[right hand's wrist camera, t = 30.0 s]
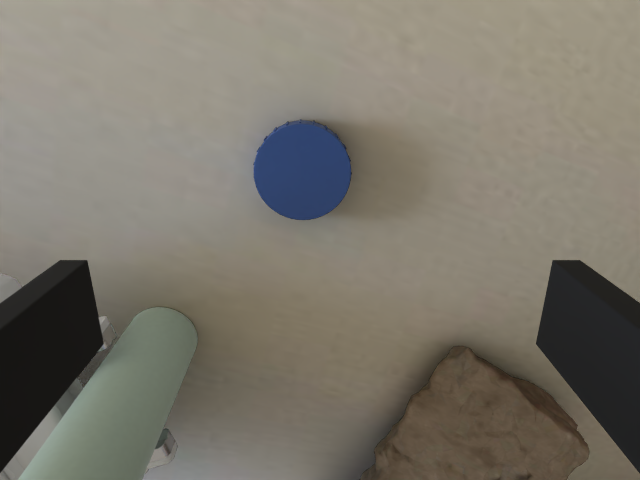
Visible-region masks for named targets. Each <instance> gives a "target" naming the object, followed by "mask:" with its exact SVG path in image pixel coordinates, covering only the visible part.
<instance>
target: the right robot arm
mask: <svg viewBox="0 0 640 480" xmlns="http://www.w3.org/2000/svg"><path fill="white" fill-rule="evenodd" d="M103 344H104V341H103V336H102V331H101V326H100V322H99V317H98V312H97V307H96V302H95V297H94V292H93V287H92V282H91V277H90V272H89V267H88V262H87V260H60V261H58V262H57V263H56V264H54V265H53V266H51V267H50V268H49V269H47V270H46V271H44V272H43V273H42V274H40V275H39V276H37V277H36V278H35V279H33V280H32V281H30V282H29V283H28V284H26V285H25V286H23V287H22V288H21V289H19V290H18V291H16V292H15V293H14V294H12V295H11V296H9V297H8V298H7V299H5V300H4V301H3V302H1V303H0V473H1V472H2V470H3V469H4V468H5V467H6V465H7V464H8V463H9V462H10V460H11V459H12V458H13V457H14V455H15V454H16V453H17V452H18V450H19V449H20V448H21V447H22V446H23V444H24V443H25V442H26V441H27V439H28V438H29V437H30V436H31V434H32V433H33V432H34V431H35V429H36V428H37V427H38V426H39V424H40V423H41V422H42V421H43V419H44V418H45V417H46V416H47V414H48V413H49V412H50V411H51V409H52V408H53V407H54V406H55V404H56V403H57V402H58V401H59V399H60V398H61V397H62V396H63V394H64V393H65V392H66V391H67V389H68V388H69V387H70V386H71V384H72V383H73V382H74V381H75V379H76V378H77V377H78V376H79V374H80V373H81V372H82V371H83V369H84V368H85V367H86V366H87V364H88V363H89V362H90V361H91V359H92V358H93V357H94V356H95V354H96V353H97V352H98V351H99V349H100V348H101V347H102V346H103ZM536 344H537V346H538V347H539V348H540V349H541V351H542V352H543V353H544V354H545V356H546V357H547V358H548V359H549V361H550V362H551V363H552V364H553V366H554V367H555V368H556V369H557V371H558V372H559V373H560V374H561V376H562V377H563V378H564V379H565V381H566V382H567V383H568V384H569V386H570V387H571V388H572V389H573V391H574V392H575V393H576V394H577V396H578V397H579V398H580V399H581V401H582V402H583V403H584V404H585V406H586V407H587V408H588V409H589V411H590V412H591V413H592V414H593V416H594V417H595V418H596V419H597V421H598V422H599V423H600V424H601V426H602V427H603V428H604V429H605V431H606V432H607V433H608V434H609V436H610V437H611V438H612V439H613V441H614V442H615V443H616V444H617V446H618V447H619V448H620V449H621V450H622V452H623V453H624V454H625V455H626V457H627V458H628V459H629V460H630V462H631V463H632V464H633V465H634V467H635V468H636V469H637V470H638V472H639V473H640V303H639V302H637V301H636V300H635V299H633V298H632V297H631V296H629V295H628V294H626V293H625V292H624V291H622V290H621V289H619V288H618V287H617V286H615V285H614V284H612V283H611V282H610V281H608V280H607V279H605V278H604V277H603V276H601V275H600V274H598V273H597V272H596V271H594V270H593V269H591V268H590V267H589V266H587V265H586V264H584V263H583V262H582V261H580V260H553V262H552V267H551V272H550V277H549V282H548V287H547V292H546V297H545V302H544V307H543V312H542V317H541V322H540V326H539V331H538V336H537V341H536Z"/></svg>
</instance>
